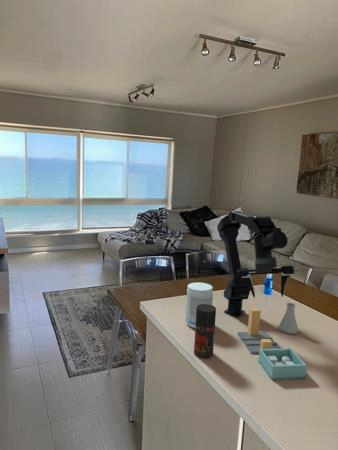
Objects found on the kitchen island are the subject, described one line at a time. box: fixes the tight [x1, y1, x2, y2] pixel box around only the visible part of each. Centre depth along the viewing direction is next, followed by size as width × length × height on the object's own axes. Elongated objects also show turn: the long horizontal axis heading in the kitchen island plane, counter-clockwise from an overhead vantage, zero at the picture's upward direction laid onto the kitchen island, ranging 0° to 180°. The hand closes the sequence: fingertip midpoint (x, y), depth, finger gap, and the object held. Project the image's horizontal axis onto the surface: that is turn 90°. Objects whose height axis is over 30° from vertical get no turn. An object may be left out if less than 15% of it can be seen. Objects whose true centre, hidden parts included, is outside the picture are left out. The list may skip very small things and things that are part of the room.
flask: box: [278, 302, 300, 335], centre depth 121 cm, size 7×7×10 cm
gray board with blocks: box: [236, 307, 282, 355], centre depth 110 cm, size 13×11×10 cm
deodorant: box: [193, 304, 217, 360], centre depth 102 cm, size 6×6×15 cm
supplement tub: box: [185, 282, 214, 329], centre depth 122 cm, size 10×10×15 cm
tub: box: [257, 348, 308, 381], centre depth 96 cm, size 9×10×4 cm
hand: (268, 297), depth 113 cm, fingers open, 9 cm apart
